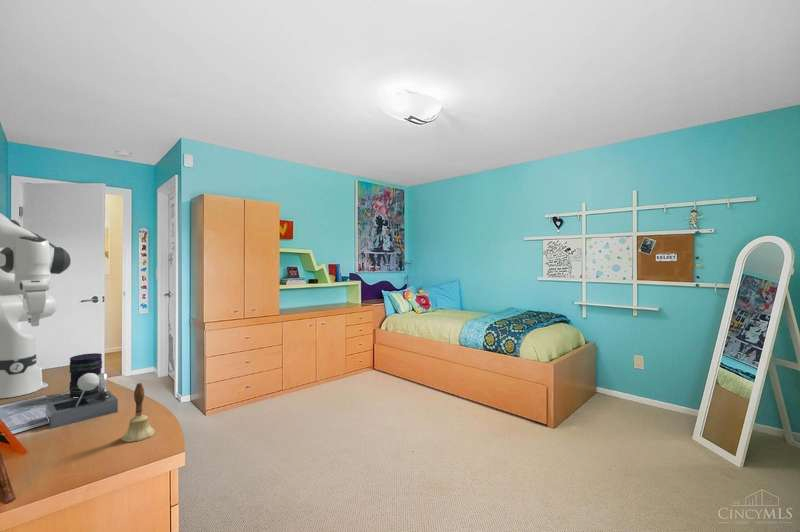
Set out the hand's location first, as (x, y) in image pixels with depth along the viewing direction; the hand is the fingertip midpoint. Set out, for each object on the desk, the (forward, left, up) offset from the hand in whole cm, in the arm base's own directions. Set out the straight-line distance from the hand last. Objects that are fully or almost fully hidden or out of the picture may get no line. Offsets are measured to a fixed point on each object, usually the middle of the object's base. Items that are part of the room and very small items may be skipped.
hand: (33, 324), depth 125 cm
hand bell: (+44, +19, -31) cm, 57 cm away
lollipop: (+12, +8, -31) cm, 34 cm away
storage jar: (-12, +16, -31) cm, 37 cm away
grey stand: (+12, +11, -31) cm, 35 cm away
